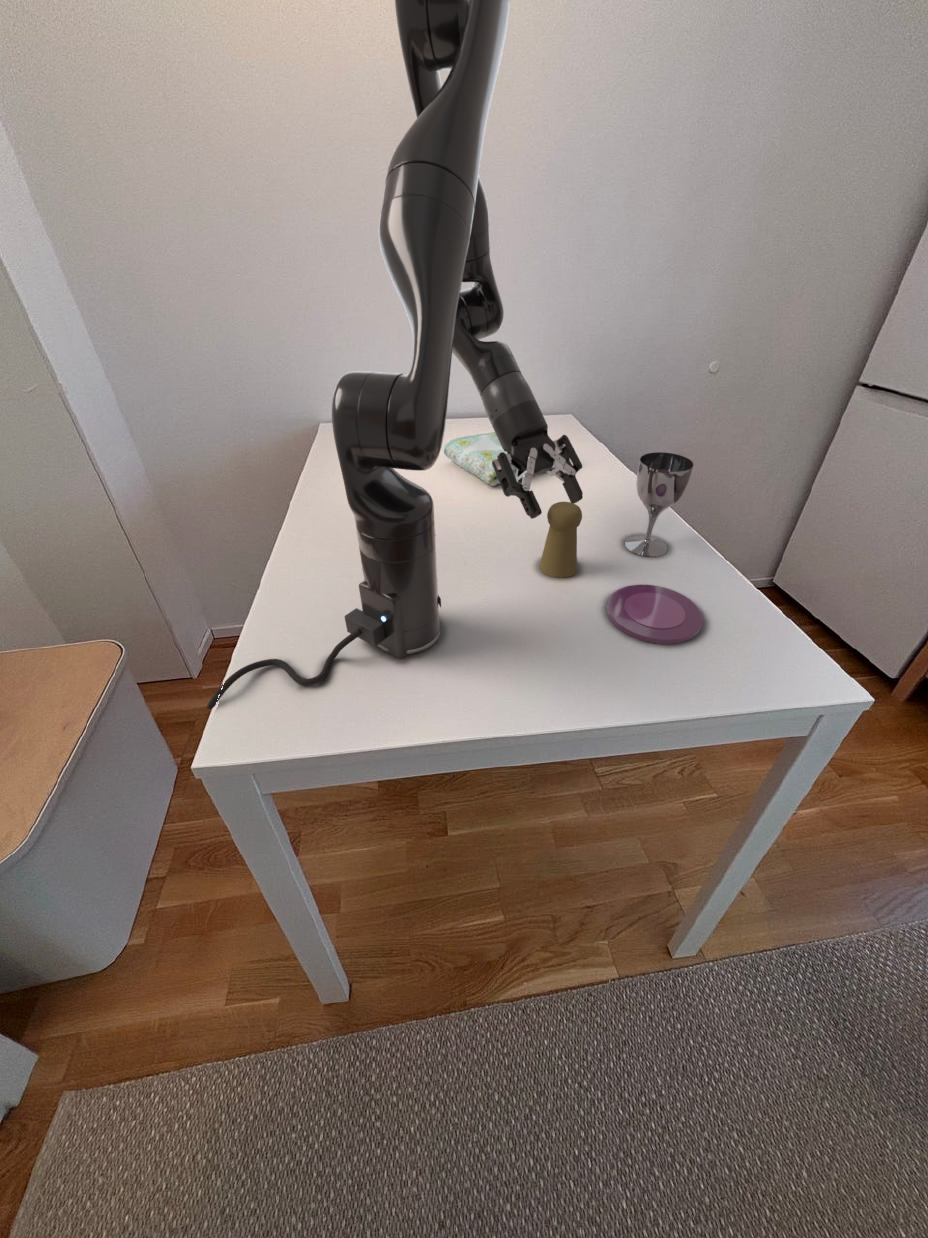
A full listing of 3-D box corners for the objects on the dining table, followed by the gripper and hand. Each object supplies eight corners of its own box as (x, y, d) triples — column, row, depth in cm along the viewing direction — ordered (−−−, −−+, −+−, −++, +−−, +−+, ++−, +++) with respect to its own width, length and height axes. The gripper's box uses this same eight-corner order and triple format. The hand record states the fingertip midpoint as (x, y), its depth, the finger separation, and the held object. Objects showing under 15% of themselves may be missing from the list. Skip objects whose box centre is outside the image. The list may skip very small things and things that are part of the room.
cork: (576, 579, 81) (586, 516, 74) (537, 575, 82) (544, 512, 75) (577, 559, 86) (586, 498, 79) (541, 556, 87) (547, 495, 80)
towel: (564, 466, 117) (567, 444, 114) (488, 489, 107) (489, 466, 104) (514, 443, 129) (515, 422, 125) (442, 462, 119) (441, 440, 116)
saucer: (683, 657, 67) (685, 652, 66) (591, 620, 73) (592, 615, 73) (712, 608, 75) (714, 603, 75) (627, 579, 81) (629, 574, 81)
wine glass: (662, 562, 85) (686, 475, 76) (615, 549, 88) (633, 465, 79) (675, 542, 90) (698, 458, 81) (630, 530, 94) (648, 448, 84)
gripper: (487, 407, 72) (536, 512, 72) (561, 390, 79) (606, 486, 79) (465, 435, 79) (510, 530, 79) (535, 417, 86) (576, 505, 85)
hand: (557, 508), depth 79 cm, fingers open, 8 cm apart
